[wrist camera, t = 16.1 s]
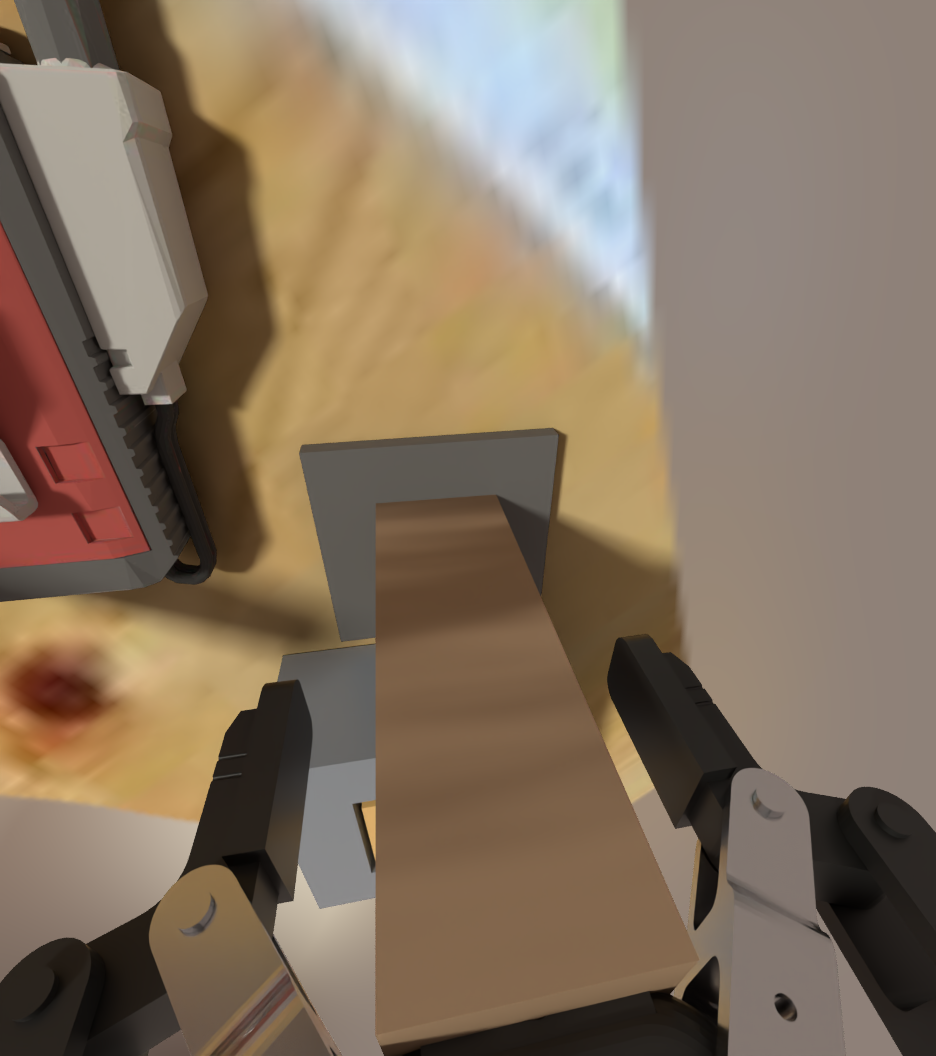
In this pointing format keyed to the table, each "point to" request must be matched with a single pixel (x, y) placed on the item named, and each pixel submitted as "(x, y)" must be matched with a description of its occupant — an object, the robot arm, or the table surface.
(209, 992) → the robot arm
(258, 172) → the table surface
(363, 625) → the mat
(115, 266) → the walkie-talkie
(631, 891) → the tall cardboard-brown rectangular prism
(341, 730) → the box
